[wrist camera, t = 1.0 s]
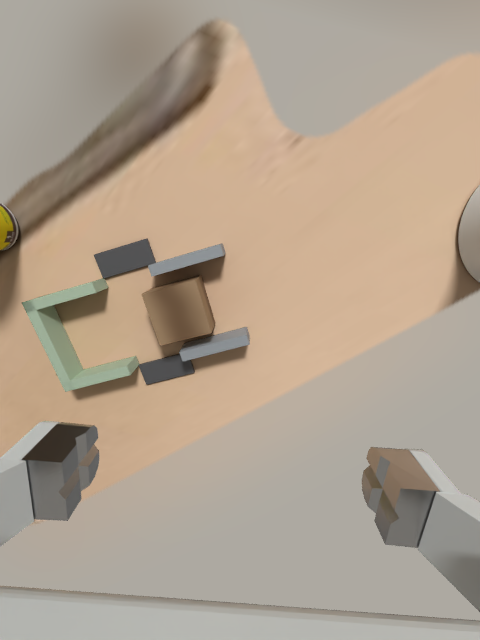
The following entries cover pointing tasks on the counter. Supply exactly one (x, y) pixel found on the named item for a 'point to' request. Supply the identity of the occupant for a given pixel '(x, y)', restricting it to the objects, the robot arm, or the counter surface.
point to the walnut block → (179, 310)
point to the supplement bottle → (7, 228)
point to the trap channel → (153, 371)
